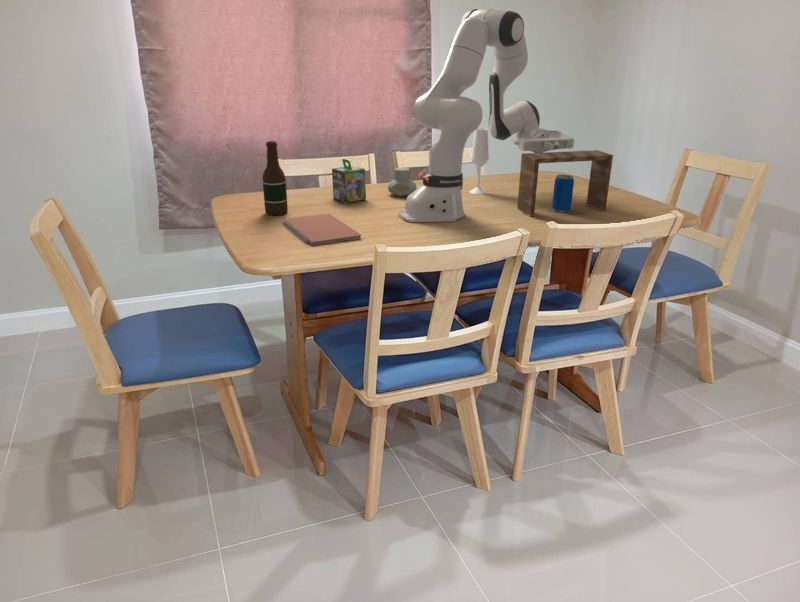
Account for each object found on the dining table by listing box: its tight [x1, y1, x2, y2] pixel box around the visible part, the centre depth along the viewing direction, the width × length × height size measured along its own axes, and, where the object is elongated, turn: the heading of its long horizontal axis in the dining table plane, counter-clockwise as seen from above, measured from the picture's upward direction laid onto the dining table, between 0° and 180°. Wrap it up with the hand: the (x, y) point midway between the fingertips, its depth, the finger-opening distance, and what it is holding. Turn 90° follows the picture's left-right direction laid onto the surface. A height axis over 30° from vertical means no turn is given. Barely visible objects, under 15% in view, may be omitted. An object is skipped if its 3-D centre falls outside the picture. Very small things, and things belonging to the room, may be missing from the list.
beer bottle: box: [262, 140, 289, 217], centre depth 210 cm, size 8×8×24 cm
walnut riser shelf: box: [516, 149, 614, 217], centre depth 217 cm, size 29×10×20 cm, turn 106°
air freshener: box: [387, 166, 418, 198], centre depth 239 cm, size 11×8×10 cm
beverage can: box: [551, 174, 575, 213], centre depth 219 cm, size 6×6×12 cm
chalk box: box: [331, 158, 367, 204], centre depth 231 cm, size 9×9×15 cm
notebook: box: [282, 213, 362, 246], centre depth 197 cm, size 27×17×2 cm, turn 27°
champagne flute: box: [469, 127, 490, 195], centre depth 241 cm, size 7×7×24 cm
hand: (556, 147), depth 220 cm, fingers closed
